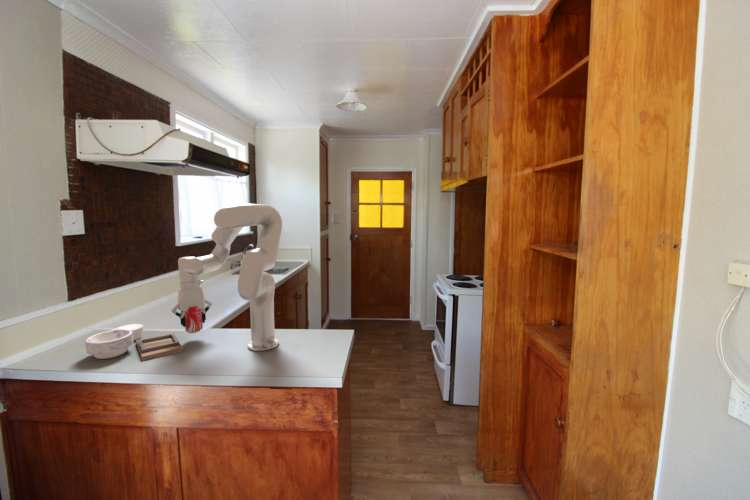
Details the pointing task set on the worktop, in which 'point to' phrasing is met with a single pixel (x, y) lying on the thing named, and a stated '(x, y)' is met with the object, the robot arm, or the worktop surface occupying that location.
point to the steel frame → (159, 345)
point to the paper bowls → (109, 343)
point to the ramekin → (133, 330)
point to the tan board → (159, 351)
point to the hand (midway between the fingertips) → (193, 323)
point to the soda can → (193, 319)
